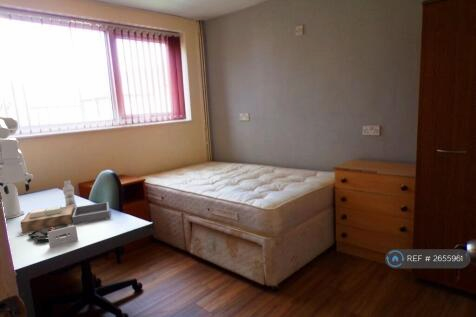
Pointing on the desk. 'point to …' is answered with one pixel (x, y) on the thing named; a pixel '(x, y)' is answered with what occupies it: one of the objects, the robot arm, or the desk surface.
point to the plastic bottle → (69, 194)
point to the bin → (90, 213)
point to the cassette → (62, 240)
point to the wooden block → (47, 220)
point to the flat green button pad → (43, 235)
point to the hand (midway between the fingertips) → (17, 192)
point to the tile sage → (53, 210)
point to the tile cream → (38, 212)
